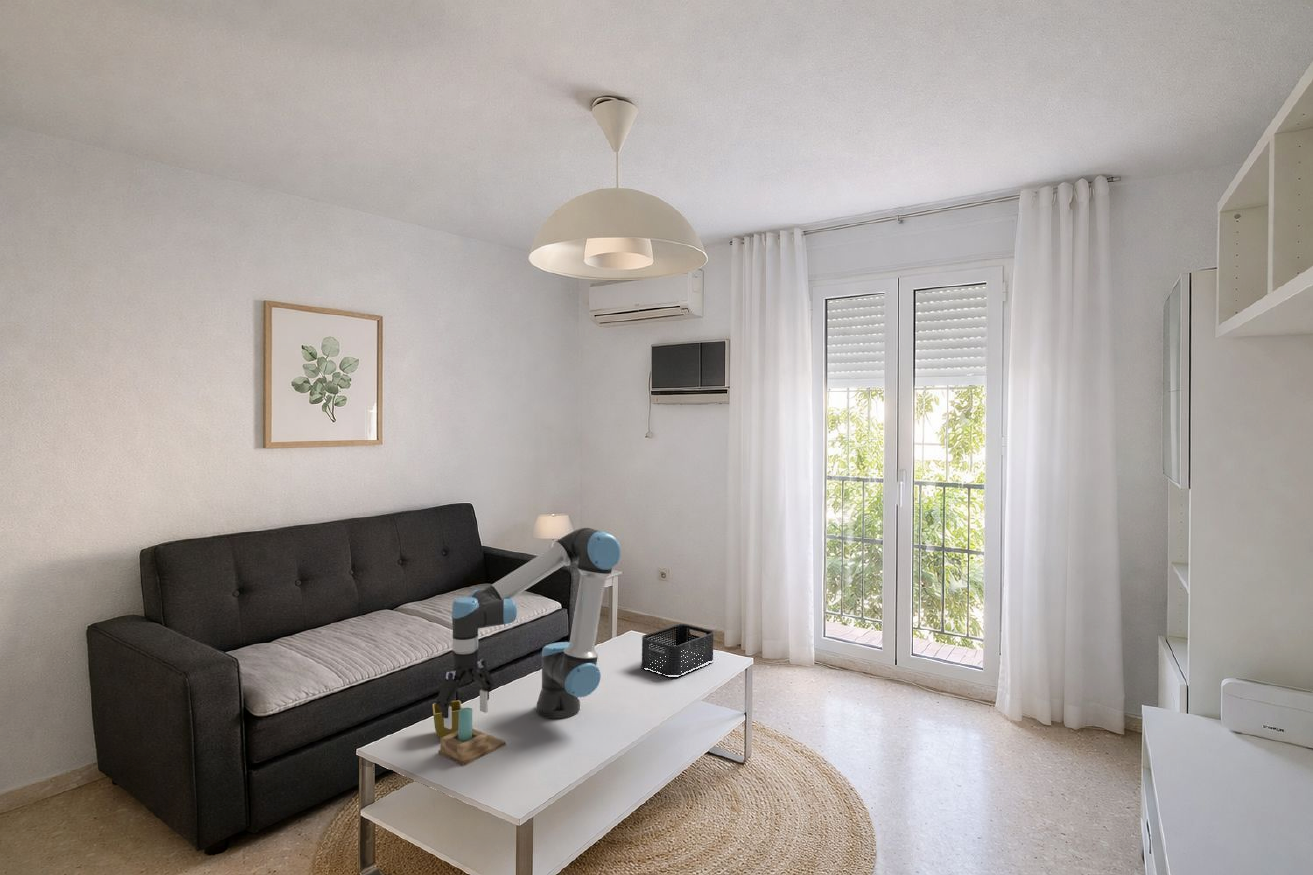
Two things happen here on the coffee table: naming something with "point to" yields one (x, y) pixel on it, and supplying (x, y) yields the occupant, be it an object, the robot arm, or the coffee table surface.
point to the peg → (465, 724)
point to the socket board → (468, 746)
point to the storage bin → (676, 649)
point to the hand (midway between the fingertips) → (466, 719)
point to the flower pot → (439, 719)
